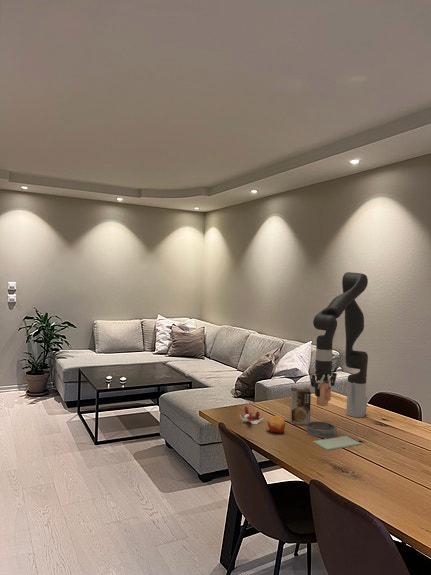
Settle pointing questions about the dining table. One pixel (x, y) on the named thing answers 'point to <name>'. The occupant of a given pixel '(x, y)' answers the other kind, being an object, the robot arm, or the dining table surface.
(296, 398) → the coffee box
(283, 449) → the dining table surface
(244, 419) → the figurine
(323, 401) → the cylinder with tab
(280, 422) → the fruit
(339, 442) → the mat
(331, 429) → the holder
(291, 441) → the dining table surface
